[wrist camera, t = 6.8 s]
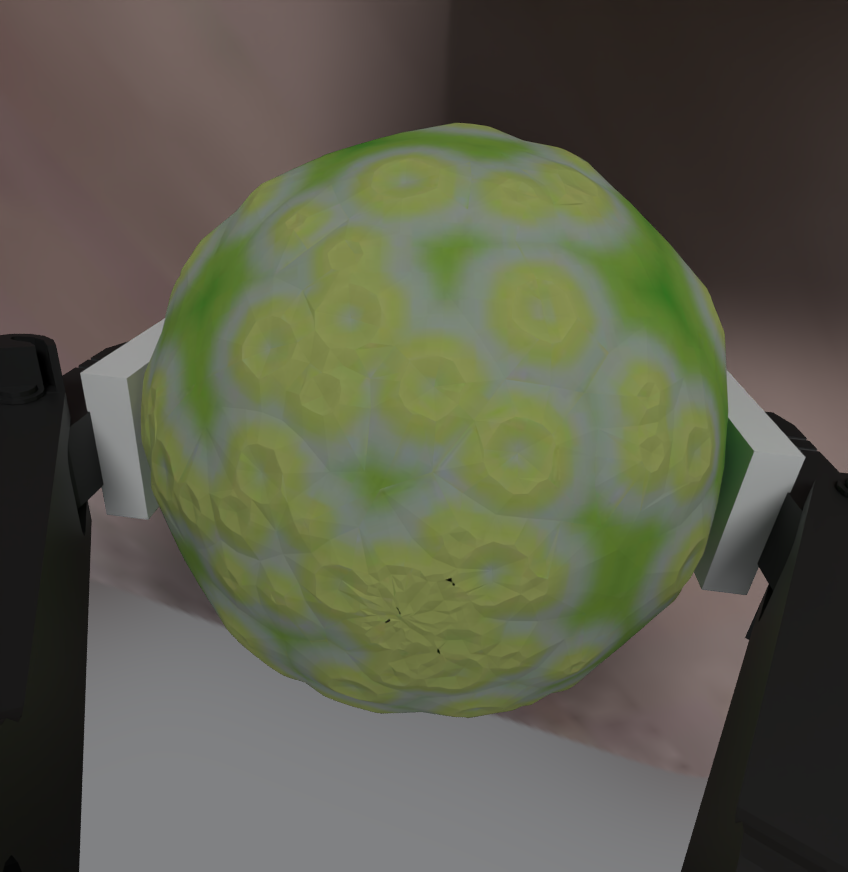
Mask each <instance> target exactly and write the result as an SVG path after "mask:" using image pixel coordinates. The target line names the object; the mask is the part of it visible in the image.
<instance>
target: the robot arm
mask: <svg viewBox="0 0 848 872" xmlns="http://www.w3.org/2000/svg"><path fill="white" fill-rule="evenodd" d="M164 321H165V319H163V320H162V321H160V322H158V323H157V324H155V325H154V326H152V327H151V328H149V329H148V330H146V331H144V332H143V333H141V334H140V335H138V336H137V337H135V338H134V339H132V340H131V341H128V342H125V343H122V344H119V345H116V346H112V347H109V348H106V349H104V350H103V351H101V352H100V353H98V354H96V355H95V356H93V357H92V358H91V360H87V361H85V362H84V363H82V364H80V365H79V368H74V369H72V370H71V371H69V372H68V373H66V374H64V375H63V376H62V373H61V368H60V363H59V358H58V353H57V348H56V344H55V342H54V340H52V339H50V338H48V337H45V336H41V335H34V334H7V335H0V872H79V858H80V857H79V856H80V830H81V827H80V826H81V802H82V800H81V799H82V772H83V746H84V717H85V690H86V661H87V634H88V606H89V578H90V550H91V522H92V520H91V515H90V510H89V505H88V499H89V498H90V497H92V496H93V495H94V494H95V493H96V492H97V491H98V490H99V489H100V488H101V487H102V491H103V497H104V502H105V507H106V513H107V515H115V516H123V517H131V518H139V519H147V520H148V519H149V518H150V517H151V516H152V514H153V513H154V512H155V511H156V510H157V508H158V507H159V505H158V502H157V500H156V498H155V496H154V494H153V491H152V489H151V471H150V468H149V465H148V461H147V458H146V455H145V451H144V448H143V444H142V438H141V400H142V389H143V380H144V374H145V371H146V369H147V366H148V364H149V361H150V359H151V357H152V354H153V352H154V349H155V347H156V345H157V342H158V340H159V337H160V335H161V333H162V329H163V325H164ZM726 372H727V393H728V423H727V437H726V450H725V464H724V471H723V476H722V482H721V487H720V493H719V498H718V503H717V507H716V511H715V515H714V518H713V522H712V526H711V529H710V533H709V537H708V540H707V544H706V547H705V551H704V554H703V556H702V558H701V559H700V561H699V563H698V565H697V566H696V568H695V570H694V573H695V575H696V578H697V580H698V582H699V584H700V587H701V589H702V590H710V591H718V592H725V593H733V594H741V595H747V593H748V591H749V589H750V586H751V584H752V581H753V579H754V577H755V574H756V572H757V570H758V567H759V568H760V569H761V571H762V573H763V575H764V576H765V578H766V580H767V581H768V583H769V585H768V587H767V589H766V592H765V594H764V596H763V598H762V601H761V603H760V605H759V607H758V610H757V612H756V614H755V616H754V619H753V621H752V623H751V625H750V628H749V630H748V632H747V634H746V637H745V638H746V639H749V643H748V646H747V650H746V653H745V656H744V660H743V663H742V667H741V670H740V673H739V677H738V680H737V683H736V687H735V690H734V694H733V697H732V700H731V704H730V707H729V711H728V714H727V717H726V721H725V724H724V727H723V731H722V734H721V738H720V741H719V744H718V748H717V751H716V755H715V758H714V761H713V765H712V768H711V771H710V775H709V778H708V782H707V785H706V788H705V792H704V795H703V799H702V802H701V805H700V809H699V812H698V816H697V819H696V822H695V826H694V829H693V832H692V836H691V840H690V843H689V846H688V850H687V853H686V856H685V860H684V863H683V866H682V870H681V872H848V473H839V472H838V470H837V469H836V468H835V467H834V466H833V465H832V464H831V463H830V462H829V461H828V460H827V459H826V458H825V457H824V456H823V455H822V454H821V453H820V452H818V451H816V450H817V449H816V447H815V446H814V445H813V444H812V443H811V442H810V441H807V440H806V439H807V438H806V437H805V436H804V435H803V434H802V433H801V432H800V431H799V430H798V429H797V428H796V427H795V426H794V425H793V424H791V423H790V422H788V421H786V420H785V419H783V418H781V417H780V416H778V415H776V414H774V413H772V412H764V411H763V410H762V408H761V407H760V406H759V405H758V404H757V403H756V402H755V401H754V400H753V398H752V397H751V396H750V395H749V394H748V393H747V392H746V391H745V390H744V388H743V387H742V386H741V385H740V384H739V383H738V382H737V381H736V380H735V378H734V377H733V376H732V375H731V374H730V373H729V372H728V371H727V370H726Z"/></svg>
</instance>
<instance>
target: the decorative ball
mask: <svg viewBox="0 0 848 872" xmlns="http://www.w3.org/2000/svg"><path fill="white" fill-rule="evenodd" d="M727 423H728V393H727V372H726V351H725V333H724V330H723V328H722V325H721V322H720V320H719V317H718V315H717V312H716V310H715V307H714V305H713V302H712V299H711V296H710V294H709V292H708V290H707V288H706V287H705V286H704V285H703V283H702V282H701V281H700V280H699V279H698V277H697V276H696V275H695V274H694V273H693V271H692V270H691V269H690V268H689V267H688V265H687V264H686V263H685V262H684V261H683V259H682V258H681V257H680V256H679V255H678V253H677V252H676V251H675V250H674V249H673V247H672V246H671V245H670V244H669V243H668V242H667V241H666V240H665V239H664V237H663V236H662V235H661V234H660V233H659V232H658V231H657V230H656V229H655V228H654V227H653V226H652V225H651V224H650V223H649V222H648V221H647V220H646V219H645V218H644V217H643V216H642V215H641V214H640V213H639V212H638V210H637V209H636V208H635V207H634V206H633V205H632V204H631V203H630V202H629V201H628V200H627V199H625V198H624V197H623V196H622V195H621V194H620V193H619V192H618V191H617V190H615V189H614V188H613V187H612V186H611V185H610V184H609V183H608V182H607V181H606V180H605V179H604V178H603V177H602V176H601V175H600V174H599V173H598V172H597V171H596V170H595V169H594V168H593V167H592V166H591V165H590V164H589V163H588V162H586V161H585V160H583V159H582V158H580V157H578V156H576V155H574V154H572V153H570V152H568V151H566V150H564V149H561V148H558V147H554V146H549V145H544V144H539V143H533V142H528V141H523V140H521V139H518V138H516V137H514V136H511V135H509V134H506V133H504V132H502V131H499V130H497V129H494V128H492V127H488V126H483V125H476V124H466V123H452V124H447V125H441V126H436V127H430V128H425V129H419V130H414V131H408V132H403V133H399V134H395V135H391V136H387V137H383V138H379V139H375V140H372V141H369V142H365V143H362V144H359V145H355V146H352V147H349V148H345V149H342V150H339V151H336V152H332V153H329V154H326V155H324V156H322V157H320V158H317V159H315V160H313V161H311V162H308V163H306V164H304V165H302V166H299V167H297V168H295V169H292V170H290V171H288V172H286V173H284V174H282V175H280V176H278V177H275V178H273V179H271V180H269V181H267V182H265V183H263V184H261V185H260V186H259V187H258V188H257V189H255V190H254V191H253V192H252V193H251V194H250V195H249V197H248V198H247V199H246V200H245V201H244V203H243V204H242V205H241V206H240V207H239V208H238V210H237V211H236V212H235V213H234V214H232V215H231V216H230V217H229V218H228V219H226V220H225V221H224V222H223V223H222V224H220V225H219V226H218V227H217V228H215V229H214V230H213V231H212V232H211V233H209V234H208V235H207V236H206V237H205V238H203V239H202V240H201V241H200V243H199V244H198V245H197V247H196V248H195V250H194V251H193V253H192V255H191V256H190V258H189V259H188V261H187V262H186V264H185V265H184V267H183V268H182V270H181V274H180V277H179V278H178V279H177V281H176V283H175V285H174V288H173V290H172V293H171V295H170V299H169V304H168V308H167V312H166V316H165V321H164V325H163V329H162V333H161V335H160V337H159V340H158V342H157V345H156V347H155V349H154V352H153V354H152V357H151V359H150V361H149V364H148V366H147V369H146V371H145V374H144V380H143V389H142V400H141V438H142V444H143V448H144V451H145V455H146V458H147V461H148V465H149V468H150V471H151V489H152V491H153V494H154V496H155V498H156V500H157V502H158V505H159V507H160V509H161V511H162V513H163V515H164V518H165V520H166V522H167V524H168V526H169V528H170V531H171V533H172V535H173V537H174V539H175V541H176V543H177V545H178V548H179V550H180V552H181V554H182V556H183V558H184V560H185V561H186V563H187V565H188V566H189V568H190V570H191V572H192V573H193V575H194V577H195V578H196V580H197V582H198V584H199V585H200V587H201V589H202V590H203V592H204V593H205V595H206V597H207V598H208V600H209V601H210V603H211V605H212V606H213V608H214V609H215V611H216V613H217V614H218V616H219V617H220V619H221V621H222V622H223V624H224V625H225V627H226V629H227V630H228V631H229V632H230V633H231V634H232V635H233V636H234V637H235V638H236V639H237V641H238V642H239V643H241V644H242V645H243V646H244V647H245V648H246V649H248V650H249V651H250V652H251V653H253V654H254V655H255V656H256V657H258V658H259V659H260V660H261V661H263V662H264V663H265V664H267V665H268V666H270V667H271V668H272V669H274V670H275V671H277V672H279V673H280V674H282V675H284V676H286V677H289V678H292V679H295V680H299V681H302V682H305V683H307V684H308V685H309V686H311V687H312V688H314V689H315V690H316V691H318V692H319V693H321V694H322V695H323V696H325V697H328V698H331V699H333V700H335V701H338V702H341V703H344V704H347V705H350V706H353V707H357V708H361V709H364V710H368V711H372V712H375V713H407V712H426V713H432V714H439V715H445V716H452V717H466V718H470V717H477V716H482V715H488V714H493V713H499V712H506V711H511V710H515V709H517V708H519V707H521V706H527V705H532V704H533V703H535V702H537V701H538V700H540V699H542V698H543V697H545V696H547V695H548V694H550V693H555V692H560V691H564V690H567V689H569V688H571V687H573V686H574V685H576V684H577V683H578V682H579V681H580V680H581V679H583V678H584V677H585V676H586V675H587V674H588V673H590V672H591V671H592V670H593V669H594V668H596V667H597V666H598V665H599V664H600V663H601V662H603V661H604V660H605V659H606V658H607V657H609V656H610V655H611V654H612V653H614V652H615V651H616V650H617V649H618V648H620V647H621V646H622V645H623V644H624V643H626V642H627V641H628V640H629V639H630V638H631V637H633V636H634V635H635V634H636V633H637V632H638V631H639V630H641V629H642V628H643V627H644V626H645V625H646V624H648V623H649V622H650V621H651V620H652V619H653V618H655V617H656V616H657V615H658V614H659V613H660V612H661V611H663V610H664V609H665V608H666V607H667V606H668V605H670V604H671V603H672V602H673V601H674V600H675V599H676V598H677V596H678V595H679V594H680V592H681V590H682V587H683V586H684V585H685V584H686V583H687V581H688V580H689V579H690V578H691V576H692V574H693V572H694V570H695V568H696V566H697V565H698V563H699V561H700V559H701V558H702V556H703V554H704V551H705V547H706V544H707V540H708V537H709V533H710V529H711V526H712V522H713V518H714V515H715V511H716V507H717V503H718V498H719V493H720V487H721V482H722V476H723V471H724V464H725V450H726V437H727Z"/></svg>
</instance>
